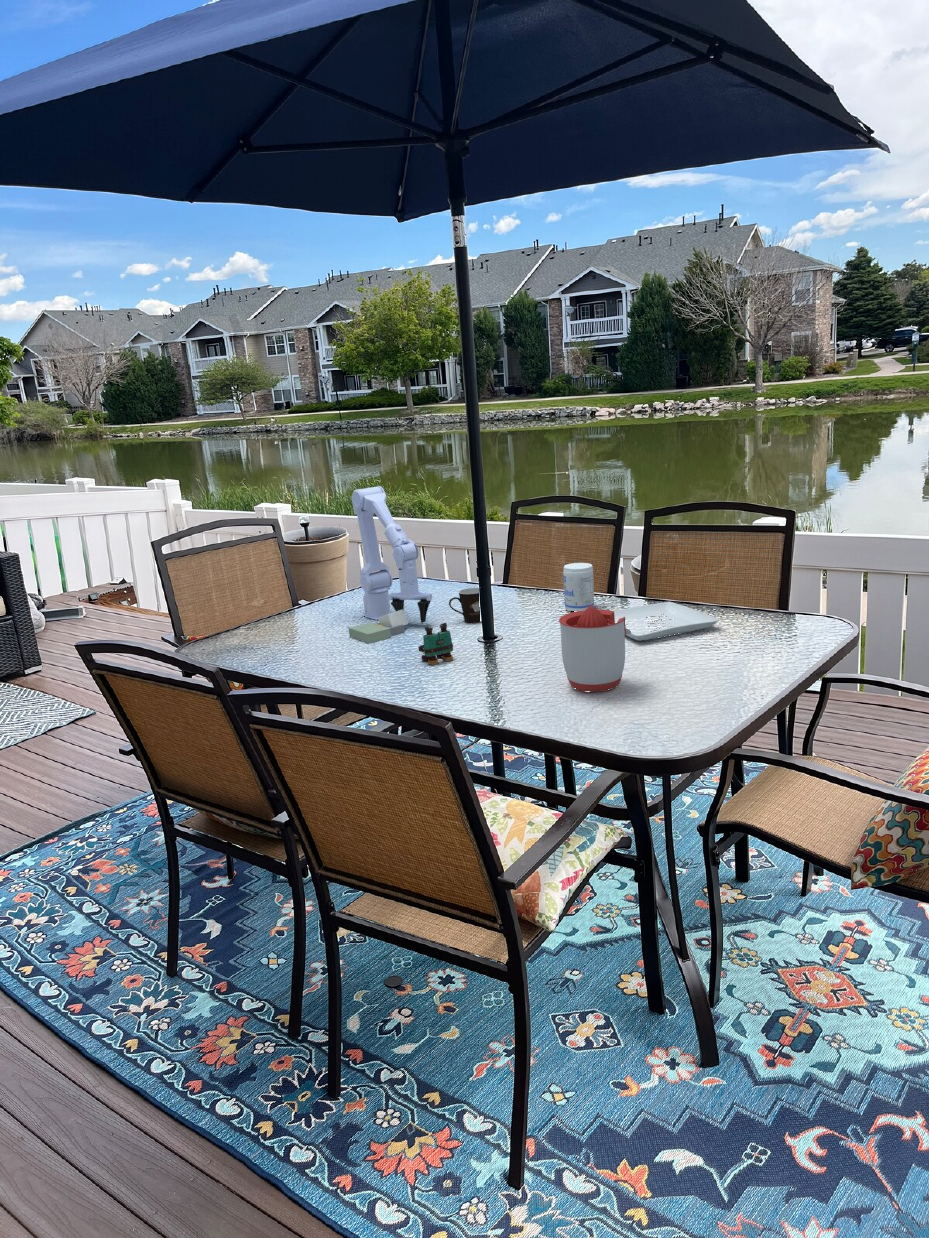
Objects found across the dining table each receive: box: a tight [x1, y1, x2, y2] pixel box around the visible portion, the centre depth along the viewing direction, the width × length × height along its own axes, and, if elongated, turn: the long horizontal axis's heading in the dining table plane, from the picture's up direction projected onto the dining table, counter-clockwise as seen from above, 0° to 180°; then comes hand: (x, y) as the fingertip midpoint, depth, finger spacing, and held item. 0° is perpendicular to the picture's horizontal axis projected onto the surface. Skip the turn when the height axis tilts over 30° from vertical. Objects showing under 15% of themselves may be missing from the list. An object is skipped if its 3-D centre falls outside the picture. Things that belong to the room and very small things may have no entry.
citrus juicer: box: [558, 605, 631, 692], centre depth 200 cm, size 16×17×20 cm
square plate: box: [613, 601, 720, 642], centre depth 245 cm, size 27×27×4 cm
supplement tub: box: [562, 562, 595, 612], centre depth 271 cm, size 10×10×15 cm
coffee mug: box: [448, 587, 481, 624], centre depth 269 cm, size 12×9×10 cm
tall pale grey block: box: [377, 609, 409, 628], centre depth 266 cm, size 5×7×5 cm
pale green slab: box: [348, 621, 405, 644], centre depth 263 cm, size 12×14×3 cm
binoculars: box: [418, 622, 454, 666], centre depth 232 cm, size 9×11×10 cm
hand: (412, 621), depth 270 cm, fingers open, 7 cm apart
